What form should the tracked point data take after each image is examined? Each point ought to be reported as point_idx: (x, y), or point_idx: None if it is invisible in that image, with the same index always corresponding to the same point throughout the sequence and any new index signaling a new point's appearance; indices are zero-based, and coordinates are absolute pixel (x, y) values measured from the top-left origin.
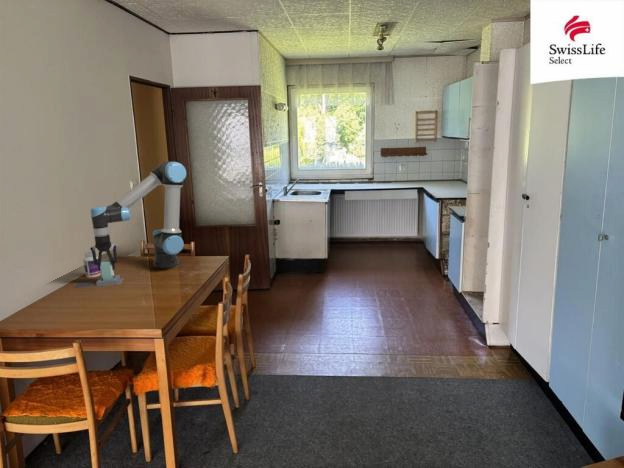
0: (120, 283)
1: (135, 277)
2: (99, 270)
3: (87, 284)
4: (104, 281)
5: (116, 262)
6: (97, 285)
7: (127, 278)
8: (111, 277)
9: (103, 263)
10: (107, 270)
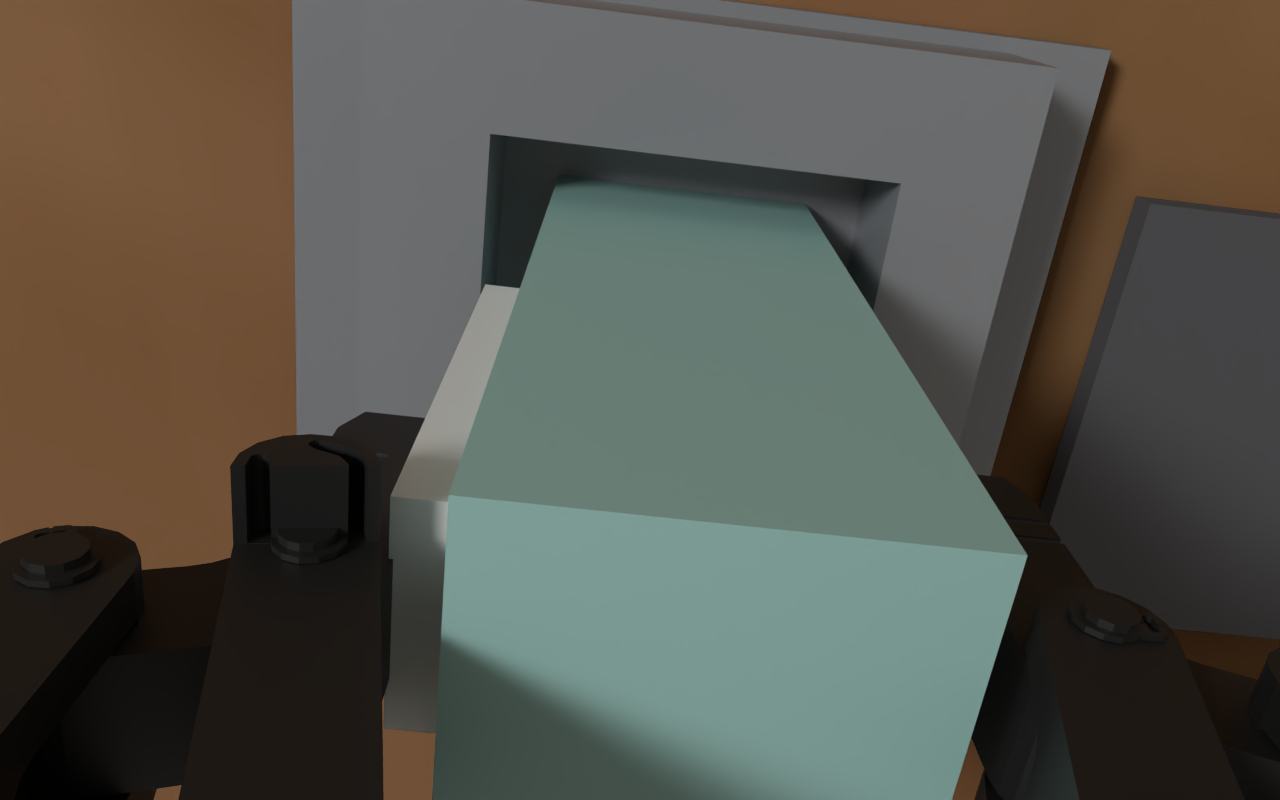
0: (303, 31)
1: (18, 528)
2: (994, 485)
3: (1230, 403)
4: (781, 45)
5: (42, 532)
6: (994, 49)
7: (222, 536)
8: (545, 219)
9: (842, 522)
10: (648, 328)
